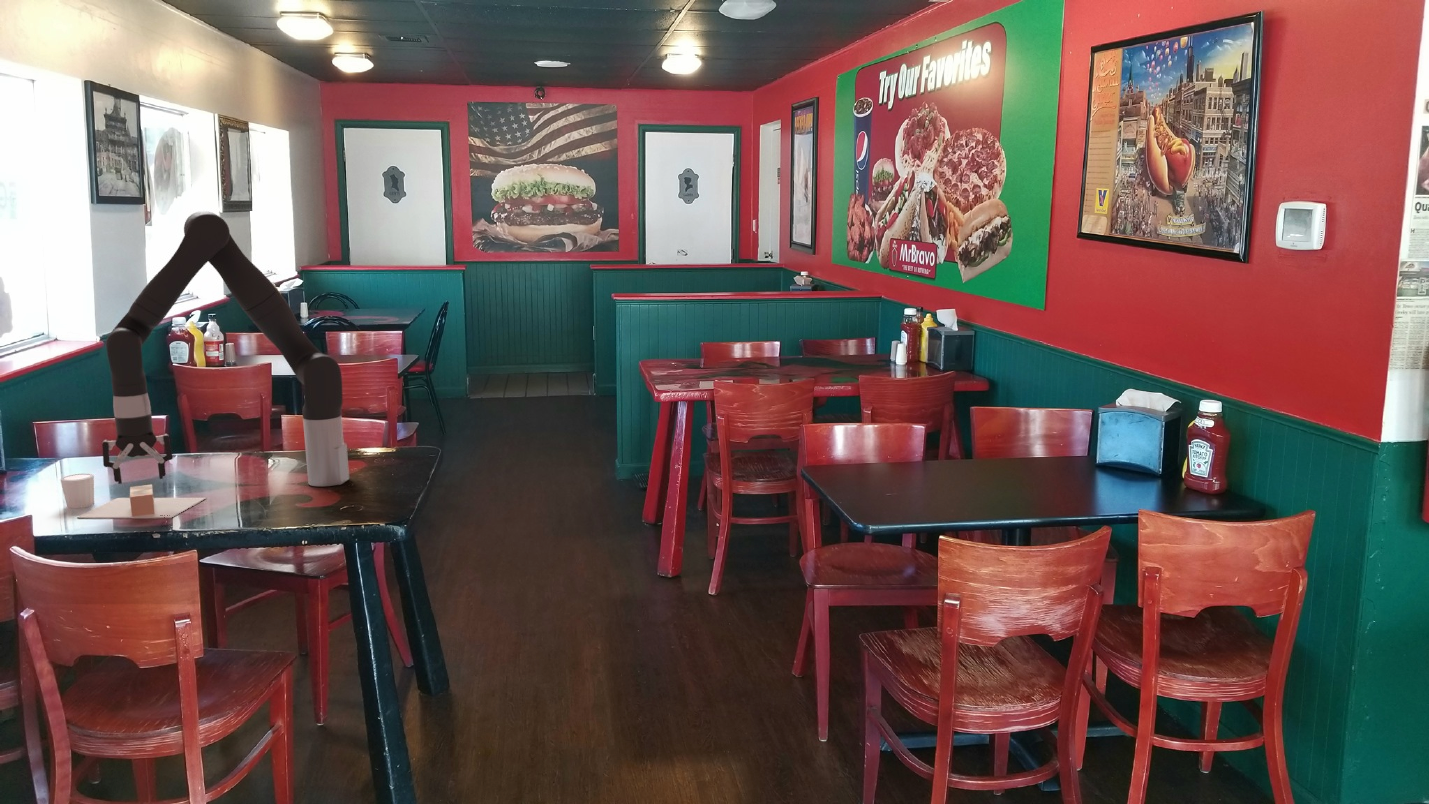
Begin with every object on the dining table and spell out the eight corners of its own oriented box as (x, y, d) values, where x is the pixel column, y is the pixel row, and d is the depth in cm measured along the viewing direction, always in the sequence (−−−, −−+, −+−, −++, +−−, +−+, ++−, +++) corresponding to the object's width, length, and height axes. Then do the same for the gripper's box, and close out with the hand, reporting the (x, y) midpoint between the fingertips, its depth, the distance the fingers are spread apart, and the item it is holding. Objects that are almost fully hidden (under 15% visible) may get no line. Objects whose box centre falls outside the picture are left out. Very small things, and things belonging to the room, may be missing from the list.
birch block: (152, 484, 253) (152, 494, 244) (154, 503, 254) (154, 513, 245) (130, 487, 251) (129, 497, 242) (132, 505, 252) (132, 516, 243)
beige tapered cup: (81, 509, 250) (78, 481, 248) (57, 508, 251) (53, 479, 250) (103, 501, 256) (100, 473, 255) (79, 500, 258) (75, 472, 256)
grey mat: (206, 498, 258) (206, 497, 258) (171, 518, 242) (171, 517, 242) (117, 499, 258) (117, 497, 258) (77, 518, 243) (76, 517, 243)
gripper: (97, 419, 239) (105, 488, 243) (167, 412, 246) (175, 480, 249) (97, 413, 246) (106, 481, 249) (166, 407, 253) (174, 473, 256)
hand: (140, 480), depth 249 cm, fingers open, 8 cm apart
